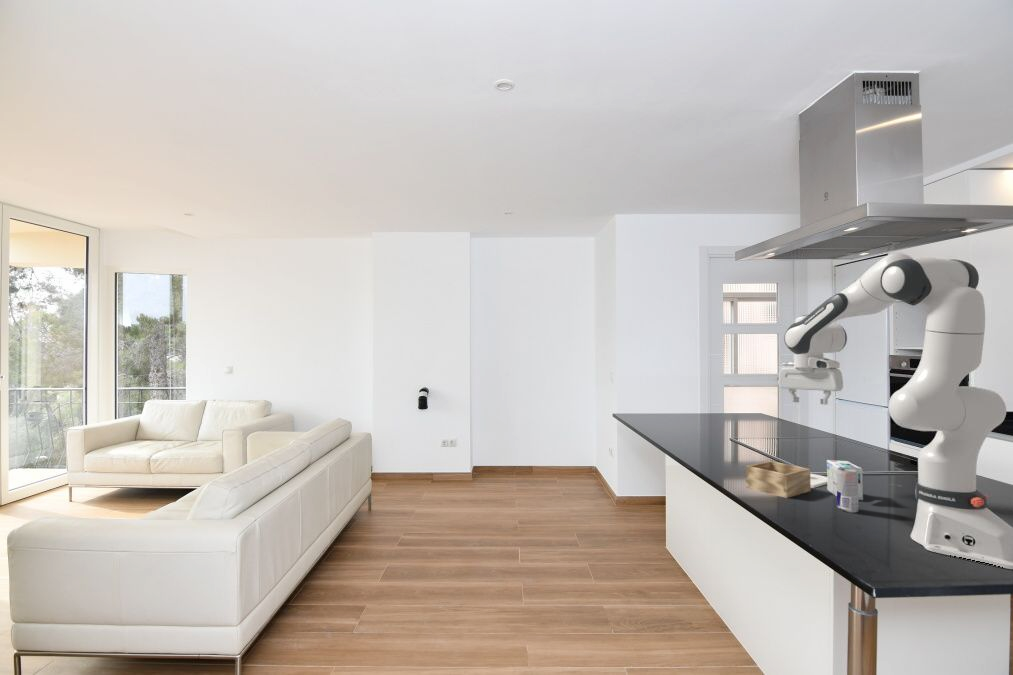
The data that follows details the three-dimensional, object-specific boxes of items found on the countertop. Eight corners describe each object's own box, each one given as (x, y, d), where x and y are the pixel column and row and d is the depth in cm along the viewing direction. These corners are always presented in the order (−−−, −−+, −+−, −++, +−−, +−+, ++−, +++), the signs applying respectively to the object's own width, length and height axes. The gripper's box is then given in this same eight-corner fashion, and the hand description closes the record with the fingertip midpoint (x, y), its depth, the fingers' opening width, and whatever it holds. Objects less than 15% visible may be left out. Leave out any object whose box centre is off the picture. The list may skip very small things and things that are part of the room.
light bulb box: (863, 502, 163) (863, 468, 163) (839, 501, 164) (839, 467, 164) (848, 493, 173) (848, 460, 173) (826, 491, 175) (825, 459, 175)
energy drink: (845, 506, 159) (844, 466, 159) (862, 511, 154) (862, 471, 154) (832, 508, 157) (832, 468, 158) (850, 514, 152) (849, 472, 153)
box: (810, 493, 173) (810, 469, 173) (786, 500, 165) (786, 475, 166) (769, 483, 185) (769, 460, 185) (745, 489, 177) (745, 466, 177)
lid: (836, 484, 184) (836, 470, 184) (813, 491, 176) (813, 476, 176) (793, 475, 197) (793, 461, 197) (770, 481, 189) (770, 467, 189)
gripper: (773, 362, 186) (774, 401, 186) (835, 363, 169) (836, 406, 168) (784, 362, 189) (784, 400, 189) (845, 362, 172) (846, 405, 172)
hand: (809, 403), depth 179 cm, fingers open, 8 cm apart
